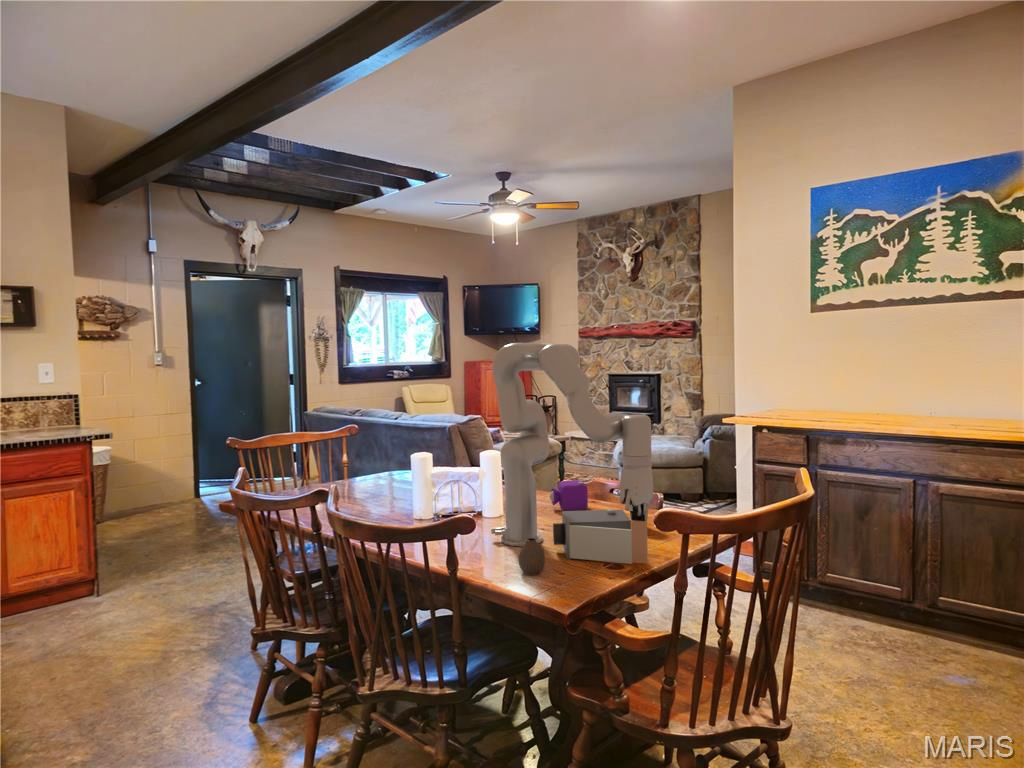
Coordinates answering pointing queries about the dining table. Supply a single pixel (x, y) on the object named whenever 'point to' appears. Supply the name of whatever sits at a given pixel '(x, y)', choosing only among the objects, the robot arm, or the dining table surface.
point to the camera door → (608, 543)
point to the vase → (531, 557)
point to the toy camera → (570, 495)
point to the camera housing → (589, 522)
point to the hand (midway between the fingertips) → (638, 528)
